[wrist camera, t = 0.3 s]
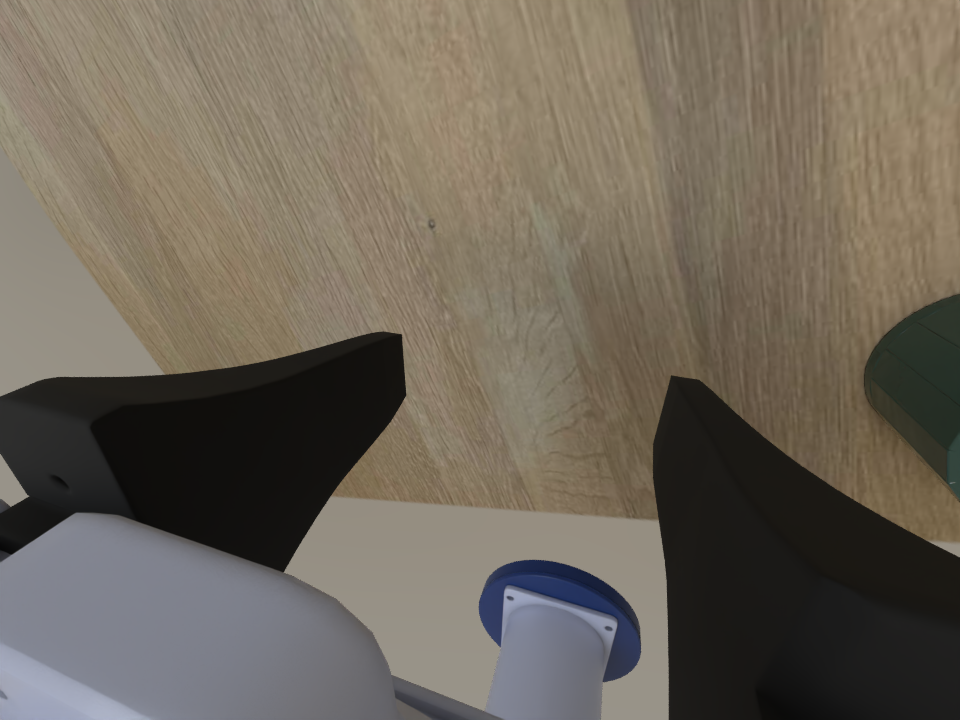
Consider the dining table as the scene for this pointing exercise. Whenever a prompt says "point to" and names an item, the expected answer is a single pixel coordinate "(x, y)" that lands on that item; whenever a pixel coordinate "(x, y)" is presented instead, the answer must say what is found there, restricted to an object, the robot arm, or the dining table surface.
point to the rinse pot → (922, 387)
